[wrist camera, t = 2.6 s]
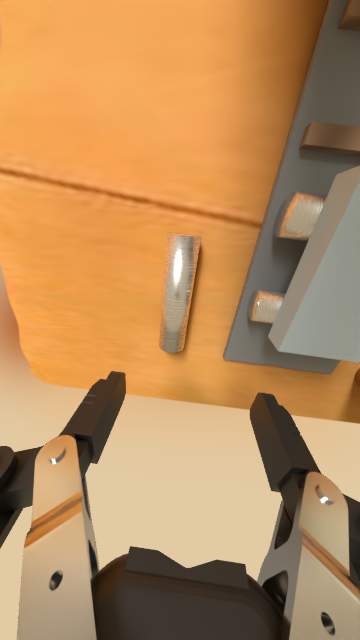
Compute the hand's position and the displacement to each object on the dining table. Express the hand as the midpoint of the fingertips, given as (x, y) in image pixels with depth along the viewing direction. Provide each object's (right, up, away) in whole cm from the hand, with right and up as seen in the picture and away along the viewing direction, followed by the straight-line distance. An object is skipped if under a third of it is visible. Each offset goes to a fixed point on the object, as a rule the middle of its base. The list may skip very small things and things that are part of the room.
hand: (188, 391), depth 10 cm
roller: (+1, +8, +14) cm, 16 cm away
